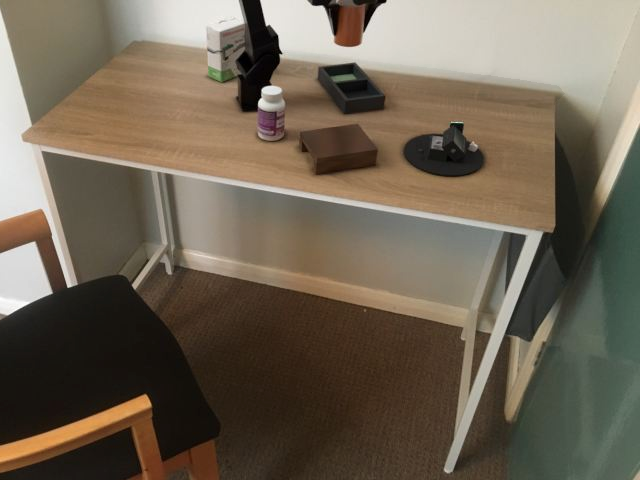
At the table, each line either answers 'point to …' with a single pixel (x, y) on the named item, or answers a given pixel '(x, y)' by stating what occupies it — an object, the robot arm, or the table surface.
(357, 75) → the tray
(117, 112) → the table surface
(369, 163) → the brown wooden riser
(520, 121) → the table surface
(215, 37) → the ink box
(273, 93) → the pill bottle
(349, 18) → the cup
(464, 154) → the black round base
